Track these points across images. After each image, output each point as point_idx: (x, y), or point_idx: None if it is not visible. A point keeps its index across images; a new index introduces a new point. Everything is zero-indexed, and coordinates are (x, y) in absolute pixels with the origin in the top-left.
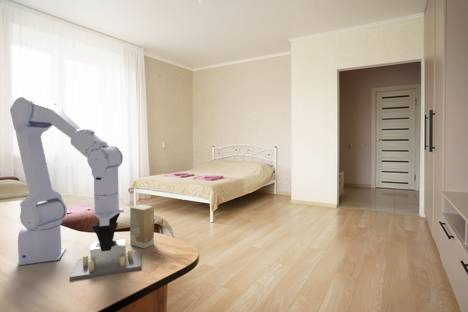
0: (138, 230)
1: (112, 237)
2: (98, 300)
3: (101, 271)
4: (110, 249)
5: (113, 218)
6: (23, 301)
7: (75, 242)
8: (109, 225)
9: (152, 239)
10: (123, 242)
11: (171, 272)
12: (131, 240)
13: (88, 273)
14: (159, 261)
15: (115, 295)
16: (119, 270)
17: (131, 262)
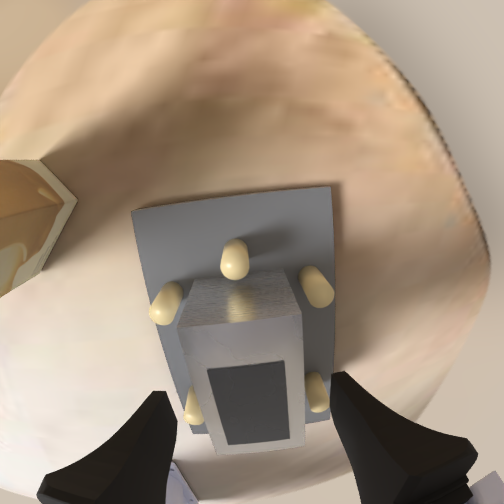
0: (6, 253)
1: (394, 412)
2: (466, 300)
3: (328, 347)
4: (348, 374)
5: (127, 501)
6: None
7: (50, 433)
8: (465, 477)
9: (28, 164)
10: (244, 330)
11: (382, 63)
12: (30, 275)
13: (327, 382)
14: (259, 99)
15: (466, 260)
16: (333, 282)
17: (274, 239)
